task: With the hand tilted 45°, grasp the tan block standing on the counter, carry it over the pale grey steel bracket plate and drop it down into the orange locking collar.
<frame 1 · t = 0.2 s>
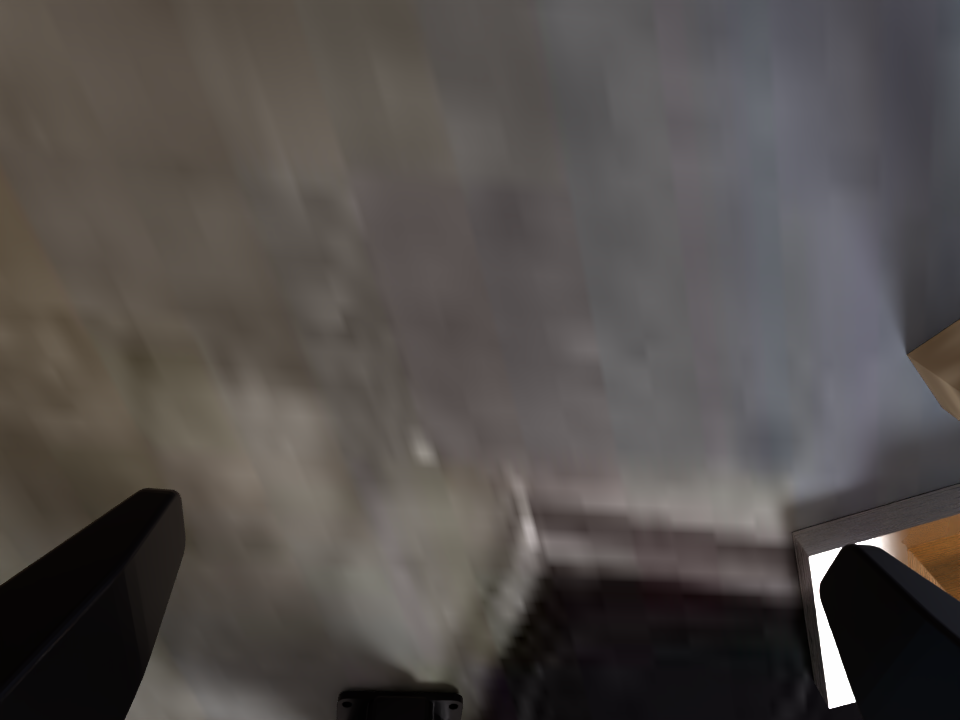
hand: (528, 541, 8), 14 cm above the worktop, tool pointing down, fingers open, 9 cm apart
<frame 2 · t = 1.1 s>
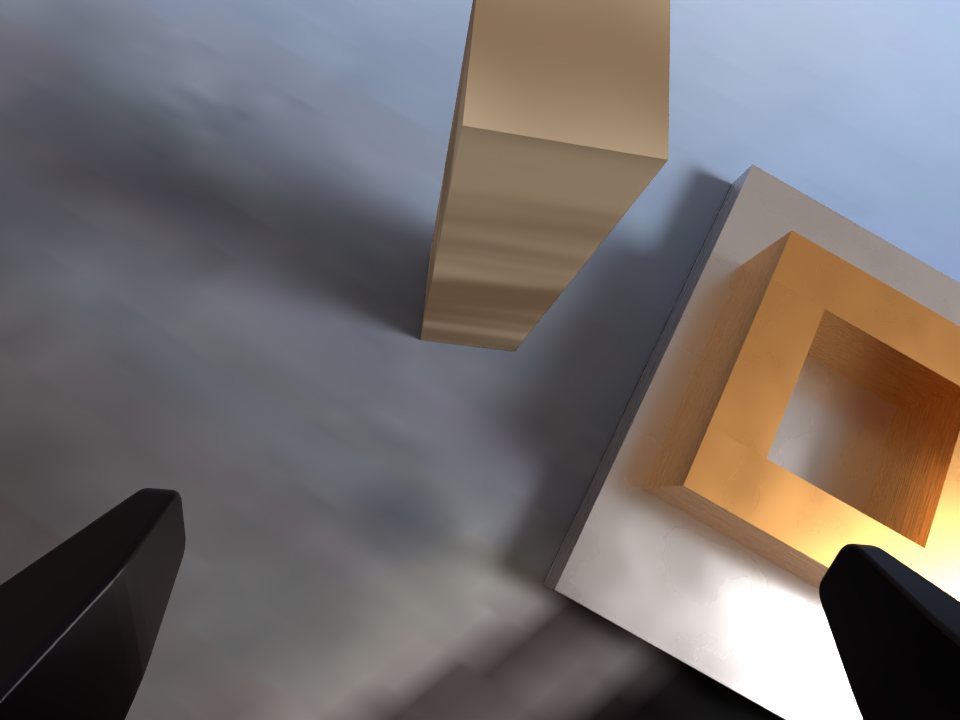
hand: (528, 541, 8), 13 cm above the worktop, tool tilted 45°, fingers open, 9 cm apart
tan block: (472, 300, 23), on the worktop
bracket plate: (783, 440, 24), on the worktop
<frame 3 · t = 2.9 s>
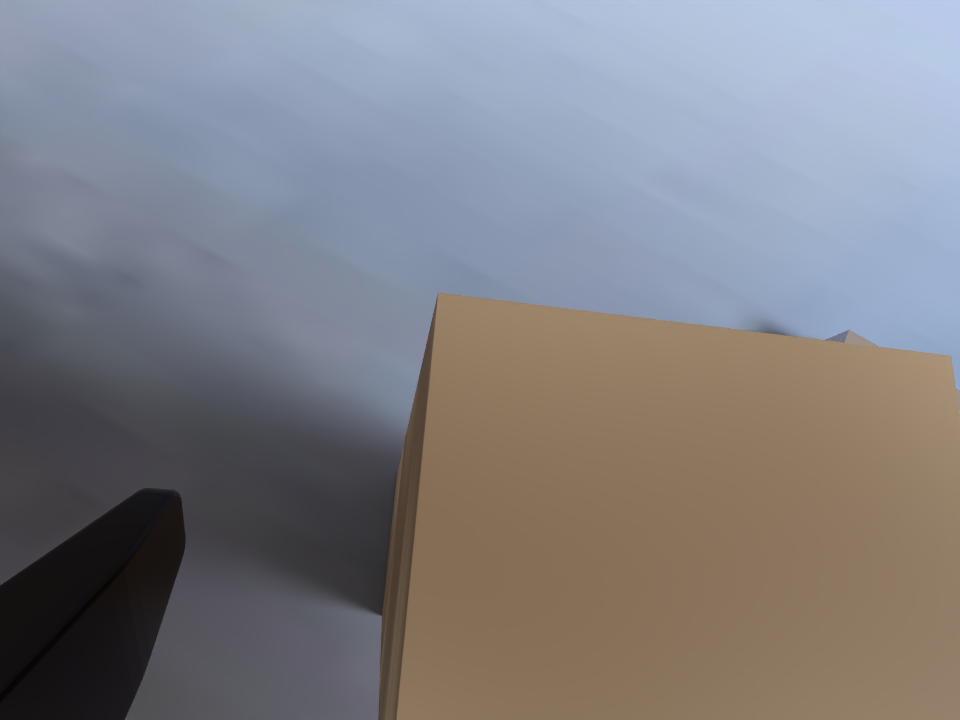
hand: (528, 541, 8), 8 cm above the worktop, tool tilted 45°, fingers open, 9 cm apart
tan block: (458, 547, 16), on the worktop
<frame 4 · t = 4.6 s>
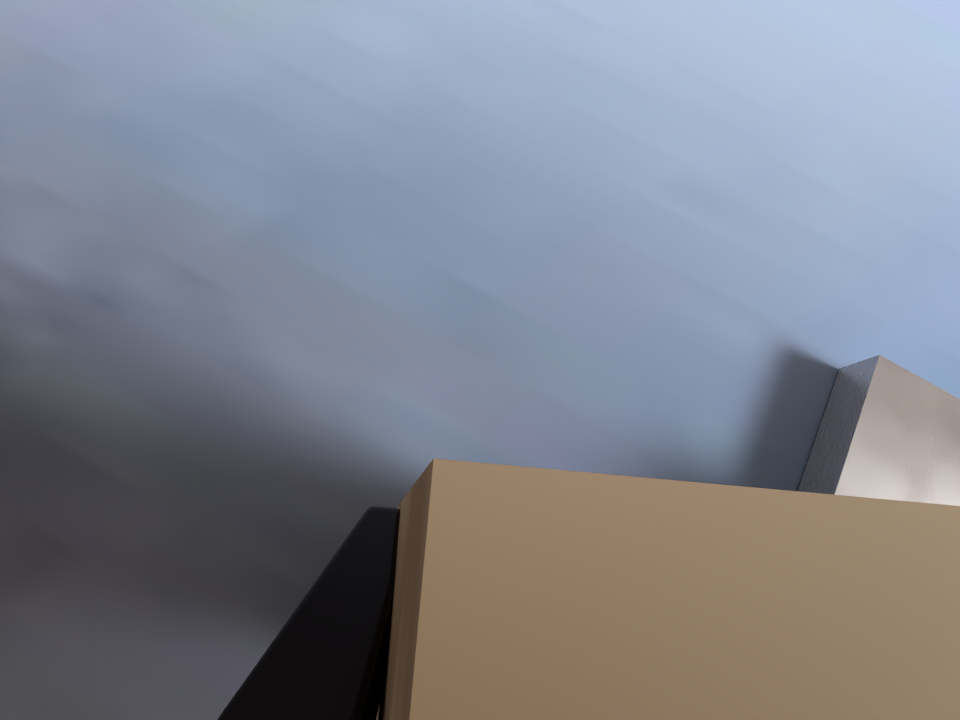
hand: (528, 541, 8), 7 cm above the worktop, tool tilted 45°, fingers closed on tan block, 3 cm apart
tan block: (459, 593, 15), on the worktop, touching gripper
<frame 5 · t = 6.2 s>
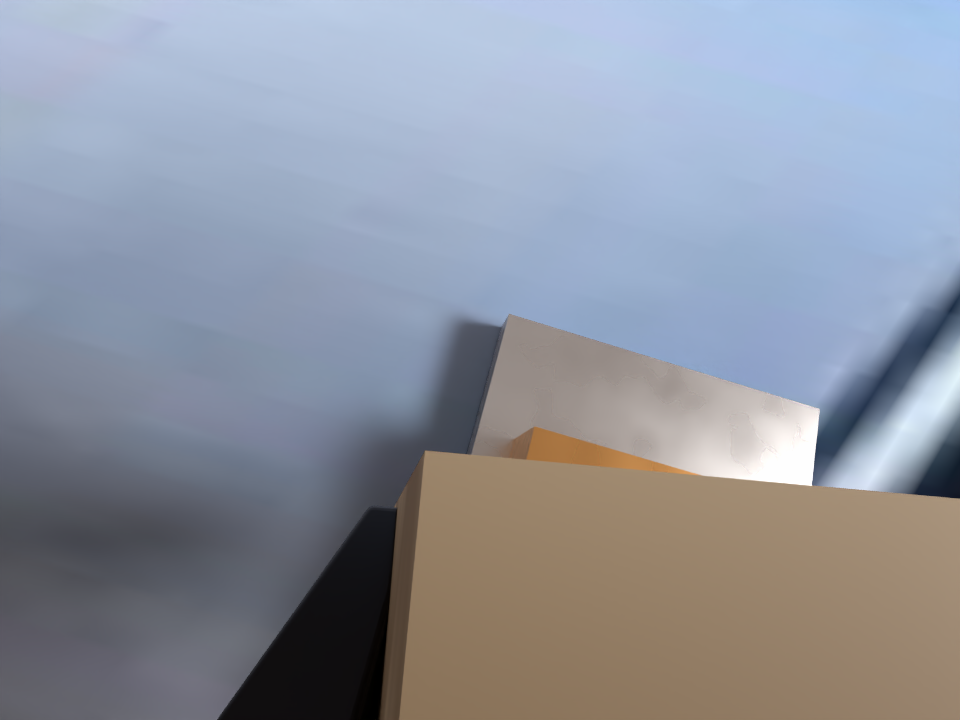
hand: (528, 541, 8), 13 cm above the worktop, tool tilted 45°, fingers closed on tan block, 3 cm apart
tan block: (457, 591, 15), point 6 cm above the worktop, touching gripper
bracket plate: (603, 615, 21), on the worktop
when the fingers open (10 cm above the worktop, at t = 8.1 s): tan block drops 1 cm, resting on bracket plate.
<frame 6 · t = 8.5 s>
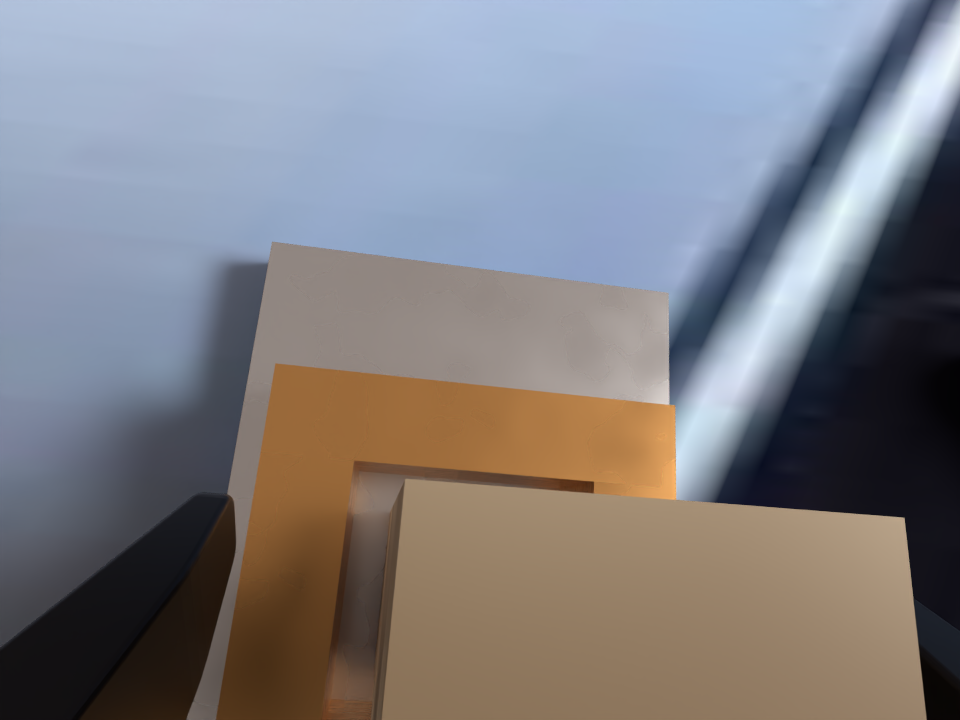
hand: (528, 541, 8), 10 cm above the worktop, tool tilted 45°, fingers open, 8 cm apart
tan block: (450, 585, 16), point 2 cm above the worktop, touching bracket plate
bracket plate: (447, 581, 18), on the worktop
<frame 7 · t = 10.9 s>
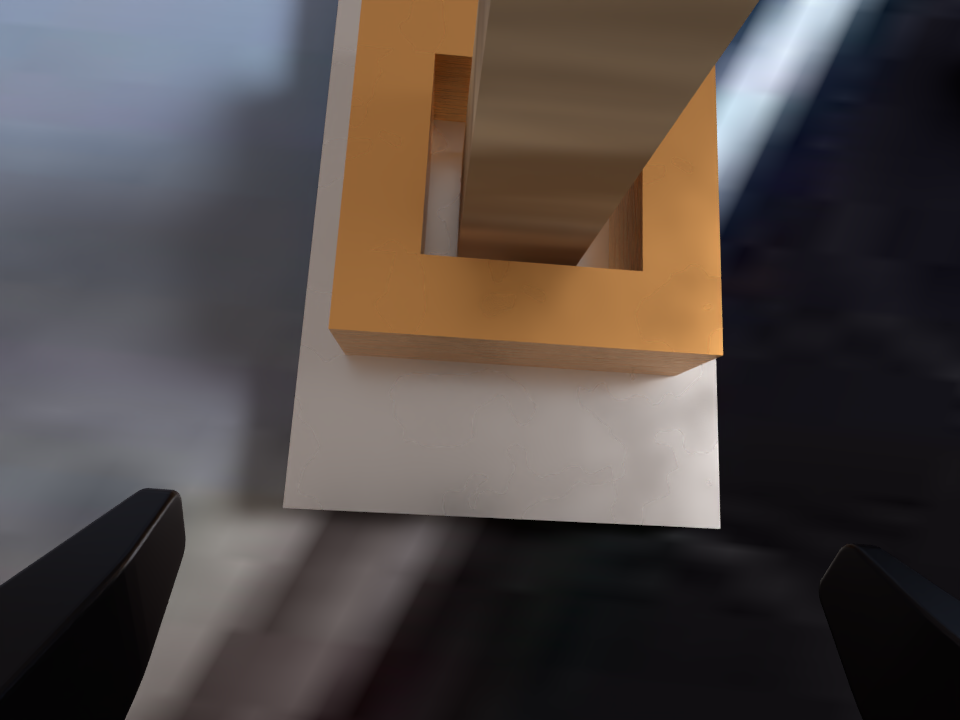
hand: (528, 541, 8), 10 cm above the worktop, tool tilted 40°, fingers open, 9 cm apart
tan block: (517, 209, 19), point 1 cm above the worktop, touching bracket plate
bracket plate: (512, 230, 20), on the worktop
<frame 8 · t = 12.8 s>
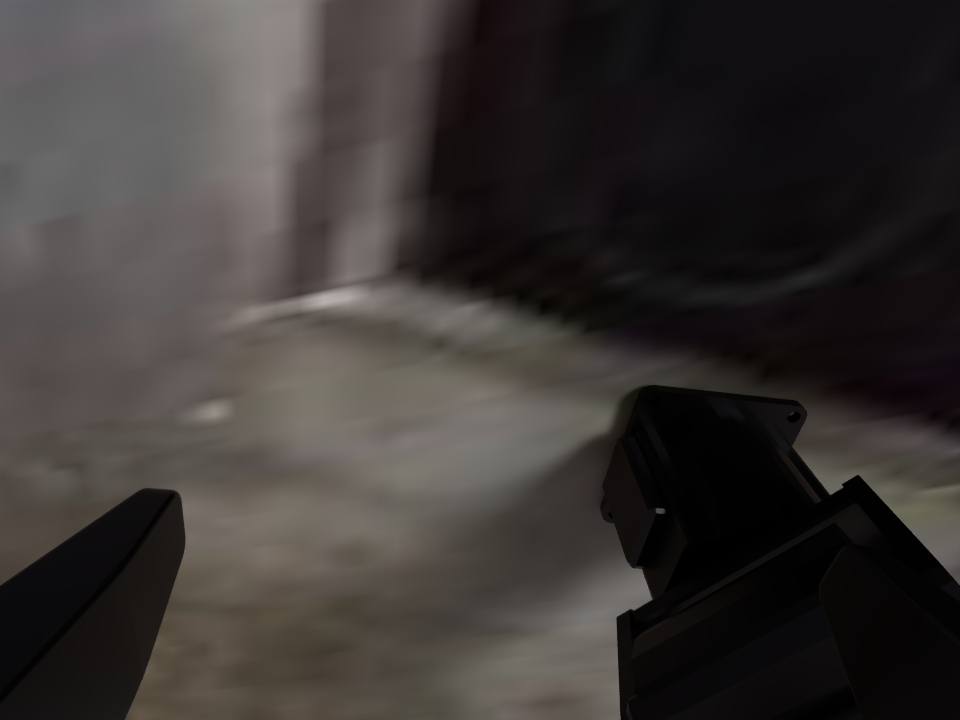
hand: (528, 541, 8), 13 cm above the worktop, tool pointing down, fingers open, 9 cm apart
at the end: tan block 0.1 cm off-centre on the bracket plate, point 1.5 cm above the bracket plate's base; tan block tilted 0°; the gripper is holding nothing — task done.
